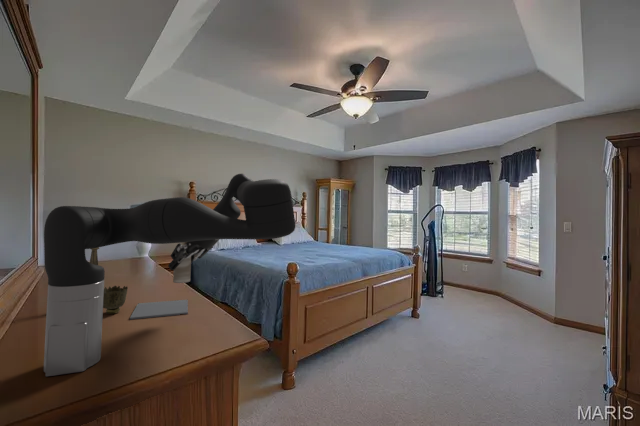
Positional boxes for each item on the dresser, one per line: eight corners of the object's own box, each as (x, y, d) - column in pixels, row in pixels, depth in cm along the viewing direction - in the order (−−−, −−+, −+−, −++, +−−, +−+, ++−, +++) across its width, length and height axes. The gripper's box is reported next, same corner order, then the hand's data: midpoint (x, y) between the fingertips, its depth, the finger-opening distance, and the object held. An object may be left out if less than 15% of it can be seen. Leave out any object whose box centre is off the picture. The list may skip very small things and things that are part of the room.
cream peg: (190, 282, 90) (191, 249, 90) (172, 283, 88) (174, 249, 88) (190, 279, 94) (191, 248, 94) (173, 280, 92) (174, 248, 92)
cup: (132, 310, 98) (133, 286, 98) (114, 317, 91) (115, 291, 91) (111, 308, 99) (112, 284, 99) (92, 315, 91) (93, 290, 92)
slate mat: (187, 314, 96) (187, 312, 96) (129, 319, 89) (129, 317, 89) (187, 301, 110) (187, 299, 110) (138, 305, 104) (138, 303, 104)
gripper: (201, 240, 81) (165, 280, 84) (232, 237, 94) (200, 272, 98) (186, 220, 82) (151, 260, 86) (219, 220, 96) (187, 255, 99)
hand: (177, 266), depth 92 cm, fingers closed on cream peg, 4 cm apart
